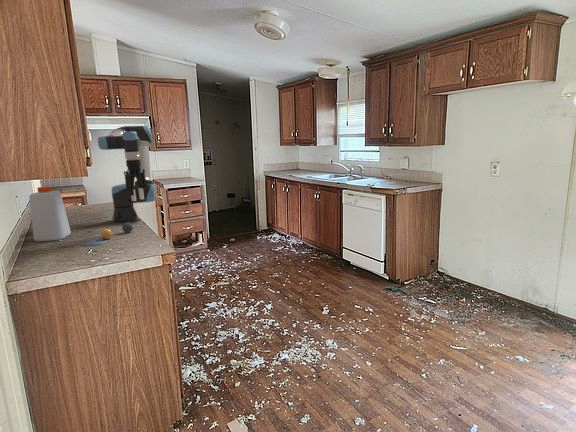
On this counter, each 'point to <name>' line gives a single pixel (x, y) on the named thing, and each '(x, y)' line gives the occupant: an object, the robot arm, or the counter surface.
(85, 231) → the counter surface
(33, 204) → the plastic bottle
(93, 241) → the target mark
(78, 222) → the counter surface
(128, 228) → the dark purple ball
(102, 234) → the orange ball
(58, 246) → the counter surface
